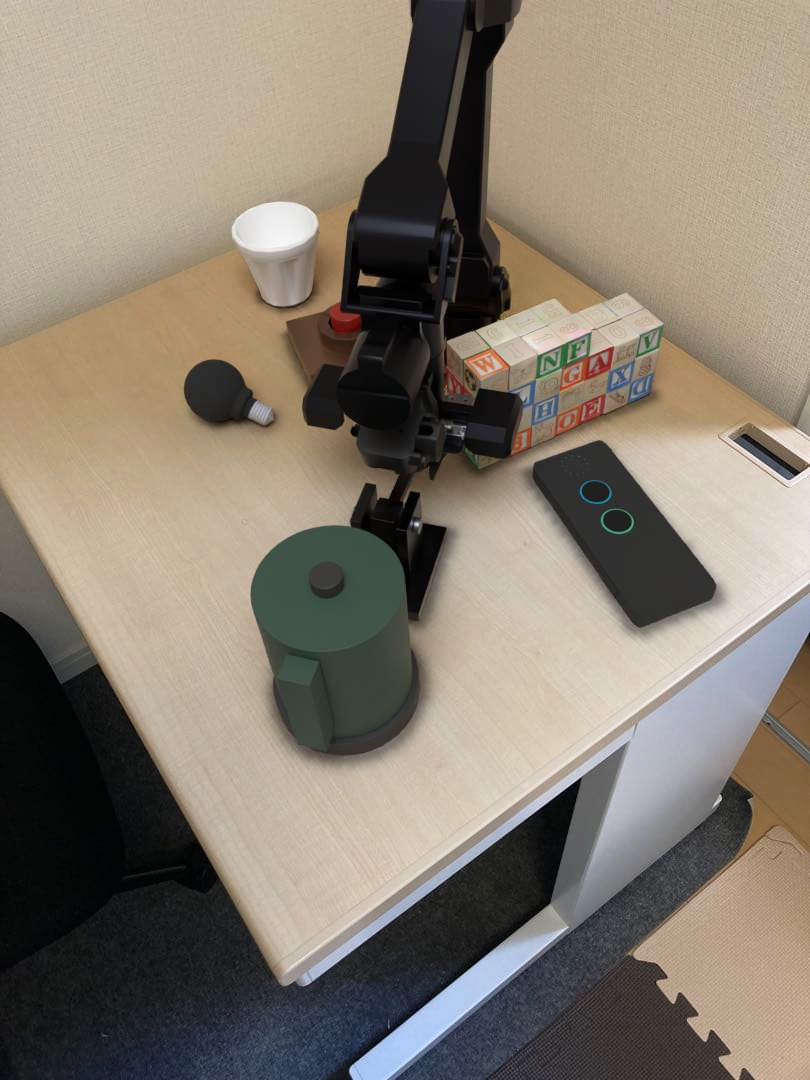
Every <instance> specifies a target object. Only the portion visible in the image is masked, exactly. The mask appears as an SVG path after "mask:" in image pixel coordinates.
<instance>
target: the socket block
mask: <svg viewBox="0 0 810 1080" xmlns="http://www.w3.org/2000/svg"><path fill="white" fill-rule="evenodd" d="M332 306H333V305H331V306H329V307H328V308H326V309H325V310H324V311H323V310H322V311H320V312H316V313H312V314H309V315H305V316H301V317H300V316H299V317H297V318H292V319H289V320H286V321H285V324H286V331H287V335H288V339H289V341H290V343H291V345H292V347H293V349H294V352H295V354H296V356H297V358H298V360H299V363H300V365H301V367H302V370H303V372H304V374H305V376H306V379H307V381H308V383H309V385H310V384H311V382H312V380H313V378H314V376H315V374H316V372H317V370H318V368H320V367H321V366H322V365H323V364H330V365H337V366H343V367H345V365H346V363H347V360H348V358H349V356H350V354H351V351H352V349H353V347H354V345H355V342H356V340H357V338H358V335H359V333H360V331H361V329H359V330H358V331H355V332H351V333H342V332H337V331H335V330H334V329H333V327H332V324H331V317H330V309H331V308H332Z"/></svg>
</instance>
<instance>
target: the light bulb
mask: <svg viewBox="0 0 810 1080" xmlns="http://www.w3.org/2000/svg"><path fill="white" fill-rule="evenodd" d="M183 396H184V399H185V401H186V404H187V406H188V407H189V408H190V410H191V411H192V412H193V413H194V414H195V415H196V416H198V417H199V418H201V419H204V420H206V421H209V422H222V421H226V420H229V419H234V420H236V421H240V420H241V419H243V417H244V418H247V419H250V420H251V421H253V422H255V423H258V424H259V425H261V426H263V427H266V426H267V425H269V424H270V423H272V422H273V421H274V408H273V407H271V406H270V405H268V404H265V402H264V403H263V402H262V401H260V400H258V399H256V398H254V397H253V396H254V390H253V389H251V388H249V387H247V385H246V382H245V379H244V376H243V375H242V373H241V372H240V371H239V369H238V368H237V367H236V366H234V365H233V364H232V363H230V362H228V361H225V360H222V359H217V358H213V359H212V358H211V359H206V360H203V361H200V362H198V363H197V364H195V365H193V367H191V369H190V370H189V371H188V373H187V375H186V377H185V379H184V383H183Z"/></svg>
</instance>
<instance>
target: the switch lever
mask: <svg viewBox="0 0 810 1080" xmlns="http://www.w3.org/2000/svg"><path fill="white" fill-rule="evenodd" d="M427 469H429V462H428V463H427V465H426V468H423V467H417V469H416V470H415V471H414V472H412V473H410V474H402V473H400V474H399V475H397V478H396V480H395V482H394V485H393V487H392V489H391V492H390V494H389V495H388V498H387V497H381V496H379V497H378V501H377V503H376V505H375V508H374V510H373V512H372V514H371V516H370V533H371V534H373V535H375V536H377V537H378V538H380V539H381V540H383V541H388V542H393V543H395V541H396V527H397V524H398V521H399V519H400V516H401V513H402V511H403V508H404V505H405V503H404V501H405V498H406V497H407V494H408V493H409V492H408V491H410V487H411V484H412V483H413V480H414V478H415V476H416V474H419V473H422V472H424V471H426V470H427Z"/></svg>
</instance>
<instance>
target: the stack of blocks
mask: <svg viewBox="0 0 810 1080" xmlns="http://www.w3.org/2000/svg"><path fill="white" fill-rule="evenodd" d="M664 326H665V324H664V322H662V321H661V320H659V318H658V317H656V316H655V315H654V314H653V313H652V312H650V311H649V310H648V309H647V308H645V307H644V306H643V305H641V303H639V302H638V301H637V300H636V299H635V298H634V297H632V296H631V295H630V294H628V293H627V292H624V293H621V294H619V295H617V296H615V297H612V298H610V299H607V300H605V301H603V302H599V303H595V304H594V305H591V306H589V307H587V308H584V309H582V310H580V311H578V312H575V313H572V312H571V311H570V310H568V309H567V308H566V307H565V306H564V305H563V304H562V303H561V302H560V301H559V300H558V299H556V298H551V299H548V300H546V301H544V302H541V303H539V304H536V305H534V306H531V307H530V308H529V309H525V310H522V311H520V312H518V313H516V314H515V313H514V314H513V315H511V316H508V317H506V318H504V319H500V320H497V322H495V323H493V324H490V325H487V326H485V327H483V328H480V329H478V330H476V331H471V332H469V333H466V334H464V335H461V336H459V337H456V338H454V339H451V340H449V341H447V367H446V366H445V374H447V383H446V386H445V388H446V395H447V394H449V393H458V394H464V395H470V396H474V401H475V398H476V395H477V392H478V389H479V388H483V389H489V390H496V391H502V392H508V393H515V394H518V395H519V396H520V398H521V399H522V401H523V415H522V419H521V422H520V425H519V429H518V432H517V436H516V439H515V442H514V446H513V449H512V453H511V456H509V457H507V458H506V459H508V458H510V457H512V456H514V455H517V454H519V453H521V452H524V451H526V450H528V449H530V448H533V447H534V446H538V445H539V444H542V443H544V442H546V441H549V440H551V439H553V438H555V436H557V435H560V434H562V433H564V432H567V431H569V430H571V429H573V428H575V427H578V426H579V425H581V424H583V423H586V422H588V421H591V420H592V419H595V418H597V417H600V416H602V415H605V414H608V413H610V412H612V411H614V410H617V409H619V408H621V407H623V406H626V405H628V404H630V403H632V402H635V401H637V400H640V399H641V398H644V397H646V396H649V395H650V394H651V391H652V386H653V383H654V382H653V381H654V378H655V372H656V370H657V364H658V361H659V356H660V352H661V351H660V346H661V341H662V337H663V331H664ZM473 404H474V403H473ZM463 452H464V454H465V455H466V456H467V457H468V458H469V460H470V462H471V463H472V464H473V465H474V466H475V468H476V469H478V470H481V469H483V468H486V467H488V466H490V465H493V464H495V463H497V462H499V461H502V460H503V459H498V458H492V457H487V456H481V455H475V454H473V453H471V452H470V451H469V450H468V449H467V448H466V447H464V450H463Z"/></svg>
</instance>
